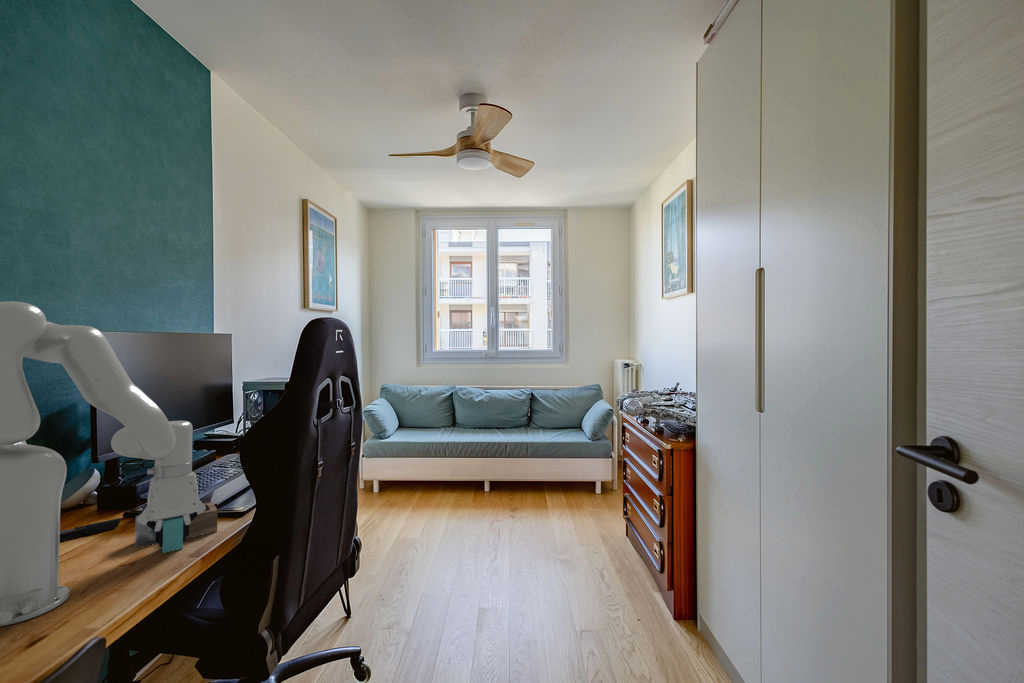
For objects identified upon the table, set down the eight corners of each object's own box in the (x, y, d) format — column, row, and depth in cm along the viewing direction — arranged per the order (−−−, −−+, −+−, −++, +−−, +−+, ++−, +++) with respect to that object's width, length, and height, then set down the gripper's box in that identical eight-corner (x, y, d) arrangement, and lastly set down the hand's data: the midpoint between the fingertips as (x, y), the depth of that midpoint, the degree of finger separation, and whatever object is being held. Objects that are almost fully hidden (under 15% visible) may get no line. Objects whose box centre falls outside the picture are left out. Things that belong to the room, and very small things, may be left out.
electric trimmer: (121, 530, 124) (121, 519, 124) (40, 548, 112) (41, 535, 112) (119, 526, 126) (119, 515, 126) (40, 543, 114) (40, 531, 115)
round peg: (165, 542, 115) (165, 515, 116) (135, 549, 111) (135, 521, 112) (163, 534, 120) (164, 509, 120) (134, 541, 116) (135, 514, 116)
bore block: (217, 531, 122) (217, 510, 122) (178, 540, 116) (179, 517, 116) (212, 522, 128) (212, 501, 128) (175, 530, 123) (176, 508, 123)
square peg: (182, 549, 111) (183, 517, 112) (162, 553, 109) (163, 521, 109) (181, 543, 114) (181, 512, 115) (161, 548, 112) (162, 516, 112)
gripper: (130, 480, 103) (128, 558, 103) (215, 467, 115) (213, 538, 114) (130, 473, 109) (128, 547, 109) (210, 461, 120) (209, 528, 120)
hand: (172, 541), depth 112 cm, fingers closed on square peg, 4 cm apart
